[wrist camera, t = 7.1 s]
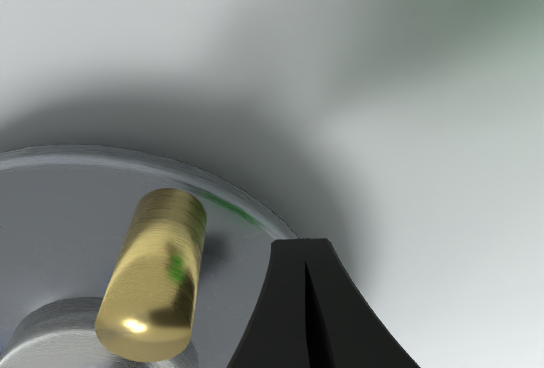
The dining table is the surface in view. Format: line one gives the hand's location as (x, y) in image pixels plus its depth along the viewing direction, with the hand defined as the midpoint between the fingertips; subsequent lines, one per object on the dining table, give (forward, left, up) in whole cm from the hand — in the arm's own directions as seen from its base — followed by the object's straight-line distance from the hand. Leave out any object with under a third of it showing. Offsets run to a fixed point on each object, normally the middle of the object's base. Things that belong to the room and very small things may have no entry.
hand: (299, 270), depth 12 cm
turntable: (-6, -6, -4) cm, 10 cm away
